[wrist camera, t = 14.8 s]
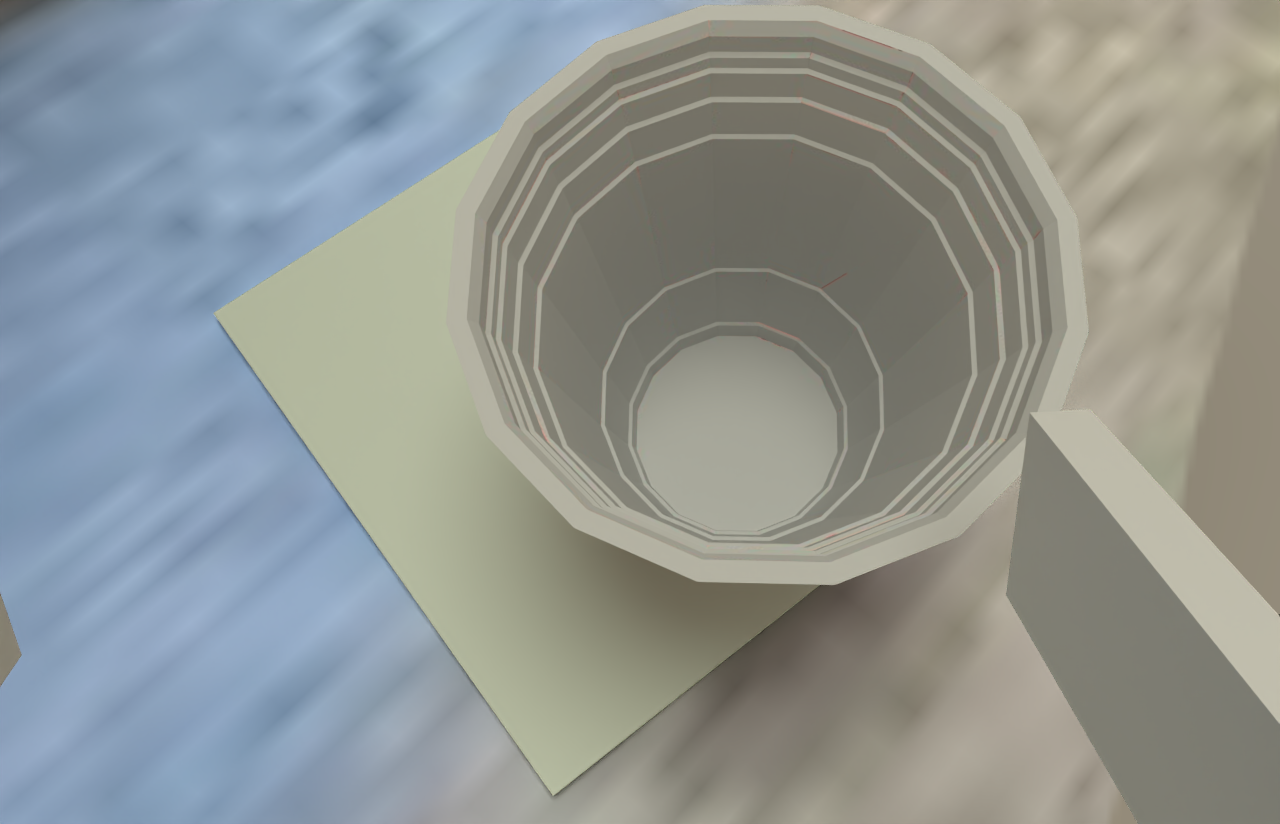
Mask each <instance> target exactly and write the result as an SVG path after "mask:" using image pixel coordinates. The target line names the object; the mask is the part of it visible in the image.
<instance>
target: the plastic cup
mask: <svg viewBox="0 0 1280 824" xmlns="http://www.w3.org/2000/svg"><path fill="white" fill-rule="evenodd" d="M446 324H447V327H448V330H449V333H450V335H451V338H452V341H453V344H454V347H455V349H456V352H457V355H458V358H459V361H460V364H461V366H462V369H463V372H464V375H465V378H466V380H467V383H468V386H469V389H470V392H471V395H472V397H473V400H474V403H475V406H476V409H477V411H478V414H479V417H480V420H481V423H482V425H483V428H484V431H485V434H486V436H487V437H488V438H489V439H490V440H491V441H492V442H493V443H494V444H495V445H496V446H497V447H498V448H499V450H500V451H501V452H502V453H503V454H504V455H505V456H506V457H507V458H508V459H509V460H510V461H511V462H512V463H513V464H514V465H515V466H516V467H517V469H518V470H519V471H520V472H521V473H522V474H523V475H524V476H525V477H526V478H527V479H528V480H529V481H530V482H531V483H532V484H533V485H534V486H535V487H536V489H537V490H538V491H539V492H540V493H541V494H542V495H543V496H544V497H545V498H546V499H547V500H548V501H549V502H550V503H551V504H552V505H553V506H554V507H555V509H556V510H557V511H558V512H559V513H560V514H561V515H562V516H563V517H564V518H565V519H566V520H567V521H568V522H569V523H570V524H571V525H572V526H573V528H575V529H578V530H580V531H582V532H584V533H587V534H589V535H591V536H594V537H596V538H598V539H600V540H603V541H605V542H607V543H610V544H612V545H614V546H616V547H619V548H621V549H623V550H626V551H628V552H630V553H632V554H635V555H637V556H639V557H642V558H644V559H646V560H649V561H651V562H653V563H655V564H658V565H660V566H662V567H665V568H667V569H669V570H671V571H674V572H676V573H678V574H681V575H683V576H685V577H687V578H690V579H692V580H694V581H697V582H724V583H768V584H812V585H836V584H839V583H841V582H844V581H846V580H849V579H852V578H854V577H857V576H859V575H862V574H864V573H867V572H869V571H872V570H874V569H877V568H880V567H882V566H885V565H887V564H890V563H892V562H895V561H897V560H900V559H903V558H905V557H908V556H910V555H913V554H915V553H918V552H920V551H923V550H925V549H928V548H931V547H933V546H936V545H938V544H941V543H943V542H946V541H948V540H951V539H954V538H956V537H959V536H960V535H961V534H962V533H963V532H964V531H965V530H966V529H967V528H968V527H969V526H970V525H971V524H972V523H973V522H974V521H975V520H976V519H977V518H978V517H979V516H980V515H981V514H982V513H983V512H984V511H985V510H986V509H987V508H988V507H989V506H990V505H991V504H992V503H993V502H994V501H995V500H996V499H997V498H998V497H999V496H1000V495H1001V494H1002V493H1003V492H1004V491H1005V490H1006V489H1007V488H1008V487H1009V486H1010V485H1011V484H1012V483H1013V482H1014V481H1015V480H1016V479H1017V478H1018V477H1019V476H1020V475H1021V474H1022V468H1023V460H1024V452H1025V445H1026V437H1027V429H1028V422H1029V414H1030V412H1048V411H1061V410H1062V407H1063V405H1064V402H1065V399H1066V396H1067V393H1068V390H1069V388H1070V385H1071V382H1072V379H1073V376H1074V373H1075V371H1076V368H1077V365H1078V362H1079V359H1080V356H1081V354H1082V351H1083V348H1084V345H1085V342H1086V339H1087V336H1088V334H1089V329H1088V319H1087V309H1086V299H1085V289H1084V280H1083V270H1082V260H1081V250H1080V240H1079V230H1078V221H1077V216H1076V214H1075V212H1074V211H1073V209H1072V207H1071V205H1070V204H1069V202H1068V200H1067V198H1066V197H1065V195H1064V193H1063V191H1062V189H1061V188H1060V186H1059V184H1058V182H1057V181H1056V179H1055V177H1054V175H1053V174H1052V172H1051V170H1050V168H1049V167H1048V165H1047V163H1046V161H1045V159H1044V158H1043V156H1042V154H1041V152H1040V151H1039V149H1038V147H1037V145H1036V144H1035V142H1034V140H1033V138H1032V136H1031V135H1030V133H1029V131H1028V129H1027V128H1026V126H1025V124H1024V122H1023V121H1022V119H1021V117H1020V116H1019V115H1018V114H1016V113H1015V112H1014V111H1013V110H1011V109H1010V108H1009V107H1008V106H1006V105H1005V104H1004V103H1003V102H1001V101H1000V100H999V99H998V98H996V97H995V96H994V95H993V94H992V93H990V92H989V91H988V90H987V89H985V88H984V87H983V86H982V85H980V84H979V83H978V82H977V81H975V80H974V79H973V78H972V77H970V76H969V75H968V74H967V73H966V72H964V71H963V70H962V69H961V68H959V67H958V66H957V65H956V64H954V63H953V62H952V61H951V60H949V59H948V58H947V57H946V56H945V55H943V54H942V53H941V52H940V51H938V50H937V49H936V48H935V47H933V46H932V45H931V44H929V43H926V42H923V41H920V40H918V39H915V38H912V37H909V36H906V35H903V34H900V33H897V32H895V31H892V30H889V29H886V28H883V27H880V26H877V25H874V24H872V23H869V22H866V21H863V20H860V19H857V18H854V17H851V16H849V15H846V14H843V13H840V12H837V11H834V10H831V9H828V8H826V7H823V6H800V5H703V6H700V7H697V8H694V9H691V10H688V11H685V12H682V13H679V14H677V15H674V16H671V17H668V18H665V19H662V20H659V21H656V22H653V23H650V24H647V25H644V26H641V27H638V28H635V29H633V30H630V31H627V32H624V33H621V34H618V35H615V36H612V37H609V38H606V39H603V40H600V41H597V42H596V43H594V44H593V45H592V46H591V47H589V48H588V49H587V50H586V51H584V52H583V53H582V54H581V55H580V56H578V57H577V58H576V59H575V60H573V61H572V62H571V63H570V64H568V65H567V66H566V67H565V68H564V69H562V70H561V71H560V72H559V73H557V74H556V75H555V76H554V77H552V78H551V79H550V80H549V81H548V82H546V83H545V84H544V85H543V86H541V87H540V88H539V89H538V90H536V91H535V92H534V93H533V94H532V95H530V96H529V97H528V98H527V99H525V100H524V101H523V102H522V103H520V104H519V105H518V106H517V107H516V108H514V109H513V110H512V111H511V112H509V114H508V116H507V118H506V120H505V121H504V123H503V125H502V127H501V129H500V131H499V132H498V134H497V136H496V138H495V140H494V142H493V143H492V145H491V147H490V149H489V151H488V152H487V154H486V156H485V158H484V160H483V162H482V163H481V165H480V167H479V169H478V171H477V172H476V174H475V176H474V178H473V180H472V182H471V183H470V185H469V187H468V189H467V191H466V192H465V194H464V196H463V198H462V200H461V202H460V203H459V205H458V207H457V209H456V214H455V226H454V237H453V249H452V260H451V272H450V283H449V295H448V306H447V318H446Z"/></svg>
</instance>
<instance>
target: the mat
mask: <svg viewBox="0 0 1280 824" xmlns="http://www.w3.org/2000/svg"><path fill="white" fill-rule="evenodd" d="M499 131H500V130H499ZM499 131H497V132H496V133H494V134H493V135H491V136H489V137H488V138H486V139H485V140H483V141H482V142H480V143H478V144H477V145H475V146H474V147H472V148H471V149H469V150H468V151H466V152H464V153H463V154H461V155H460V156H458V157H457V158H455V159H453V160H452V161H450V162H449V163H447V164H446V165H444V166H443V167H441V168H439V169H438V170H436V171H435V172H433V173H432V174H430V175H428V176H427V177H425V178H424V179H422V180H421V181H419V182H417V183H416V184H414V185H413V186H411V187H410V188H408V189H407V190H405V191H403V192H402V193H400V194H399V195H397V196H396V197H394V198H392V199H391V200H389V201H388V202H386V203H385V204H383V205H382V206H380V207H378V208H377V209H375V210H374V211H372V212H371V213H369V214H367V215H366V216H364V217H363V218H361V219H360V220H358V221H357V222H355V223H353V224H352V225H350V226H349V227H347V228H346V229H344V230H342V231H341V232H339V233H338V234H336V235H335V236H333V237H331V238H330V239H328V240H327V241H325V242H324V243H322V244H321V245H319V246H317V247H316V248H314V249H313V250H311V251H310V252H308V253H306V254H305V255H303V256H302V257H300V258H299V259H297V260H296V261H294V262H292V263H291V264H289V265H288V266H286V267H285V268H283V269H281V270H280V271H278V272H277V273H275V274H274V275H272V276H270V277H269V278H267V279H266V280H264V281H263V282H261V283H260V284H258V285H256V286H255V287H253V288H252V289H250V290H249V291H247V292H245V293H244V294H242V295H241V296H239V297H238V298H236V299H235V300H233V301H231V302H230V303H228V304H227V305H225V306H224V307H222V308H220V309H219V310H217V311H216V312H214V315H215V316H216V318H217V319H218V320H219V322H220V323H221V325H222V326H223V328H224V329H225V330H226V332H227V333H228V335H229V336H230V338H231V339H232V340H233V342H234V343H235V345H236V346H237V347H238V349H239V350H240V352H241V353H242V355H243V356H244V357H245V359H246V360H247V362H248V363H249V365H250V366H251V367H252V369H253V370H254V372H255V373H256V374H257V376H258V377H259V379H260V380H261V382H262V383H263V384H264V386H265V387H266V389H267V390H268V392H269V393H270V394H271V396H272V397H273V399H274V400H275V401H276V403H277V404H278V406H279V407H280V409H281V410H282V411H283V413H284V414H285V416H286V417H287V419H288V420H289V421H290V423H291V424H292V426H293V427H294V428H295V430H296V431H297V433H298V434H299V436H300V437H301V438H302V440H303V441H304V443H305V444H306V446H307V447H308V448H309V450H310V451H311V453H312V454H313V455H314V457H315V458H316V460H317V461H318V463H319V464H320V465H321V467H322V468H323V470H324V471H325V473H326V474H327V475H328V477H329V478H330V480H331V481H332V482H333V484H334V485H335V487H336V488H337V490H338V491H339V492H340V494H341V495H342V497H343V498H344V500H345V501H346V502H347V504H348V505H349V507H350V508H351V509H352V511H353V512H354V514H355V515H356V517H357V518H358V519H359V521H360V522H361V524H362V525H363V527H364V528H365V529H366V531H367V532H368V534H369V535H370V536H371V538H372V539H373V541H374V542H375V544H376V545H377V546H378V548H379V549H380V551H381V552H382V554H383V555H384V556H385V558H386V559H387V561H388V562H389V563H390V565H391V566H392V568H393V569H394V571H395V572H396V573H397V575H398V576H399V578H400V579H401V581H402V582H403V583H404V585H405V586H406V588H407V589H408V590H409V592H410V593H411V595H412V596H413V598H414V599H415V600H416V602H417V603H418V605H419V606H420V608H421V609H422V610H423V612H424V613H425V615H426V616H427V617H428V619H429V620H430V622H431V623H432V625H433V626H434V627H435V629H436V630H437V632H438V633H439V635H440V636H441V637H442V639H443V640H444V642H445V643H446V644H447V646H448V647H449V649H450V650H451V652H452V653H453V654H454V656H455V657H456V659H457V660H458V662H459V663H460V664H461V666H462V667H463V669H464V670H465V671H466V673H467V674H468V676H469V677H470V679H471V680H472V681H473V683H474V684H475V686H476V687H477V689H478V690H479V691H480V693H481V694H482V696H483V697H484V698H485V700H486V701H487V703H488V704H489V706H490V707H491V708H492V710H493V711H494V713H495V714H496V715H497V717H498V718H499V720H500V721H501V723H502V724H503V725H504V727H505V728H506V730H507V731H508V733H509V734H510V735H511V737H512V738H513V740H514V741H515V742H516V744H517V745H518V747H519V748H520V750H521V751H522V752H523V754H524V755H525V757H526V758H527V760H528V761H529V762H530V764H531V765H532V767H533V768H534V769H535V771H536V772H537V774H538V775H539V777H540V778H541V779H542V781H543V782H544V784H545V785H546V787H547V788H548V789H549V791H550V792H551V794H552V795H553V796H554V795H556V794H557V793H558V792H560V791H561V790H562V789H563V788H565V787H566V786H567V785H568V784H570V783H571V782H572V781H573V780H575V779H576V778H577V777H578V776H580V775H581V774H582V773H583V772H585V771H586V770H587V769H589V768H590V767H591V766H592V765H594V764H595V763H596V762H597V761H599V760H600V759H601V758H602V757H604V756H605V755H606V754H607V753H609V752H610V751H611V750H613V749H614V748H615V747H616V746H618V745H619V744H620V743H621V742H623V741H624V740H625V739H626V738H628V737H629V736H630V735H631V734H633V733H634V732H635V731H636V730H638V729H639V728H640V727H642V726H643V725H644V724H645V723H647V722H648V721H649V720H650V719H652V718H653V717H654V716H655V715H657V714H658V713H659V712H660V711H662V710H663V709H664V708H666V707H667V706H668V705H669V704H671V703H672V702H673V701H674V700H676V699H677V698H678V697H679V696H681V695H682V694H683V693H684V692H686V691H687V690H688V689H689V688H691V687H692V686H693V685H695V684H696V683H697V682H698V681H700V680H701V679H702V678H703V677H705V676H706V675H707V674H708V673H710V672H711V671H712V670H713V669H715V668H716V667H717V666H718V665H720V664H721V663H722V662H724V661H725V660H726V659H727V658H729V657H730V656H731V655H732V654H734V653H735V652H736V651H737V650H739V649H740V648H741V647H742V646H744V645H745V644H746V643H748V642H749V641H750V640H751V639H753V638H754V637H755V636H756V635H758V634H759V633H760V632H761V631H763V630H764V629H765V628H766V627H768V626H769V625H770V624H771V623H773V622H774V621H775V620H777V619H778V618H779V617H780V616H782V615H783V614H784V613H785V612H787V611H788V610H789V609H790V608H792V607H793V606H794V605H795V604H797V603H798V602H799V601H801V600H802V599H803V598H804V597H806V596H807V595H808V594H809V593H811V592H812V591H813V590H814V589H816V588H817V587H818V586H819V585H812V584H768V583H724V582H697V581H694V580H692V579H690V578H687V577H685V576H683V575H681V574H678V573H676V572H674V571H671V570H669V569H667V568H665V567H662V566H660V565H658V564H655V563H653V562H651V561H649V560H646V559H644V558H642V557H639V556H637V555H635V554H632V553H630V552H628V551H626V550H623V549H621V548H619V547H616V546H614V545H612V544H610V543H607V542H605V541H603V540H600V539H598V538H596V537H594V536H591V535H589V534H587V533H584V532H582V531H580V530H578V529H575V528H573V526H572V525H571V524H570V523H569V522H568V521H567V520H566V519H565V518H564V517H563V516H562V515H561V514H560V513H559V512H558V511H557V510H556V509H555V507H554V506H553V505H552V504H551V503H550V502H549V501H548V500H547V499H546V498H545V497H544V496H543V495H542V494H541V493H540V492H539V491H538V490H537V489H536V487H535V486H534V485H533V484H532V483H531V482H530V481H529V480H528V479H527V478H526V477H525V476H524V475H523V474H522V473H521V472H520V471H519V470H518V469H517V467H516V466H515V465H514V464H513V463H512V462H511V461H510V460H509V459H508V458H507V457H506V456H505V455H504V454H503V453H502V452H501V451H500V450H499V448H498V447H497V446H496V445H495V444H494V443H493V442H492V441H491V440H490V439H489V438H488V437H487V436H486V434H485V431H484V428H483V425H482V423H481V420H480V417H479V414H478V411H477V409H476V406H475V403H474V400H473V397H472V395H471V392H470V389H469V386H468V383H467V380H466V378H465V375H464V372H463V369H462V366H461V364H460V361H459V358H458V355H457V352H456V349H455V347H454V344H453V341H452V338H451V335H450V333H449V330H448V327H447V324H446V318H447V306H448V295H449V283H450V272H451V260H452V249H453V237H454V226H455V214H456V209H457V207H458V205H459V203H460V202H461V200H462V198H463V196H464V194H465V192H466V191H467V189H468V187H469V185H470V183H471V182H472V180H473V178H474V176H475V174H476V172H477V171H478V169H479V167H480V165H481V163H482V162H483V160H484V158H485V156H486V154H487V152H488V151H489V149H490V147H491V145H492V143H493V142H494V140H495V138H496V136H497V134H498V132H499Z"/></svg>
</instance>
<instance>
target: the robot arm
mask: <svg viewBox="0 0 1280 824" xmlns="http://www.w3.org/2000/svg"><path fill="white" fill-rule="evenodd" d="M1006 595H1007V597H1008V599H1009V601H1010V602H1011V604H1012V606H1013V608H1014V609H1015V611H1016V613H1017V615H1018V616H1019V618H1020V620H1021V621H1022V623H1023V625H1024V627H1025V628H1026V630H1027V632H1028V634H1029V635H1030V637H1031V639H1032V641H1033V642H1034V644H1035V646H1036V648H1037V649H1038V651H1039V653H1040V654H1041V656H1042V658H1043V660H1044V661H1045V663H1046V665H1047V667H1048V668H1049V670H1050V672H1051V674H1052V675H1053V677H1054V679H1055V680H1056V682H1057V684H1058V686H1059V687H1060V689H1061V691H1062V693H1063V694H1064V696H1065V698H1066V700H1067V701H1068V703H1069V705H1070V706H1071V708H1072V710H1073V712H1074V713H1075V715H1076V717H1077V719H1078V720H1079V722H1080V724H1081V726H1082V727H1083V729H1084V731H1085V732H1086V734H1087V736H1088V738H1089V739H1090V741H1091V743H1092V745H1093V746H1094V748H1095V750H1096V752H1097V753H1098V755H1099V757H1100V758H1101V760H1102V762H1103V764H1104V765H1105V767H1106V769H1107V771H1108V772H1109V774H1110V776H1111V778H1112V779H1113V781H1114V783H1115V785H1116V786H1117V788H1118V790H1119V791H1120V793H1121V795H1122V797H1123V798H1124V800H1125V802H1126V803H1127V805H1128V807H1129V809H1130V811H1131V812H1132V814H1133V816H1134V817H1135V819H1136V820H1137V823H1138V824H1280V614H1279V615H1278V614H1277V613H1276V612H1275V611H1274V610H1273V608H1271V606H1270V605H1269V604H1268V603H1267V602H1266V601H1265V600H1264V599H1263V598H1262V596H1261V595H1260V594H1259V593H1258V592H1257V591H1256V590H1255V589H1254V588H1253V587H1252V585H1251V584H1250V583H1249V582H1248V581H1247V580H1246V579H1245V578H1244V577H1243V576H1242V575H1241V573H1240V572H1239V571H1238V570H1237V569H1236V568H1235V567H1234V566H1233V565H1232V564H1231V562H1230V561H1229V560H1228V559H1227V558H1226V557H1225V556H1224V555H1223V554H1222V553H1221V551H1220V550H1219V549H1218V548H1217V547H1216V546H1215V545H1214V544H1213V543H1212V542H1211V541H1210V539H1209V538H1208V537H1207V536H1206V535H1205V534H1204V533H1203V532H1202V531H1201V530H1200V529H1199V527H1198V526H1197V525H1196V524H1195V523H1194V522H1193V521H1192V520H1191V519H1190V518H1189V517H1188V515H1187V514H1186V513H1185V512H1184V511H1183V510H1182V509H1181V508H1180V507H1179V506H1178V504H1177V503H1176V502H1175V501H1174V500H1173V499H1172V498H1171V497H1170V496H1169V495H1168V494H1167V492H1166V491H1165V490H1164V489H1163V488H1162V487H1161V486H1160V485H1159V484H1158V483H1157V482H1156V480H1155V479H1154V478H1153V477H1152V476H1151V475H1150V474H1149V473H1148V472H1147V471H1146V469H1145V468H1144V467H1143V466H1142V465H1141V464H1140V463H1139V462H1138V461H1137V460H1136V459H1135V457H1134V456H1133V455H1132V454H1131V453H1130V452H1129V451H1128V450H1127V449H1126V448H1125V447H1124V445H1123V444H1122V443H1121V442H1120V441H1119V440H1118V439H1117V438H1116V437H1115V436H1114V435H1113V433H1112V432H1111V431H1110V430H1109V429H1108V428H1107V427H1106V426H1105V425H1104V424H1103V422H1102V421H1101V420H1100V419H1099V418H1098V417H1097V416H1096V415H1095V414H1094V413H1093V412H1092V410H1091V409H1084V410H1066V411H1048V412H1030V414H1029V422H1028V429H1027V437H1026V445H1025V452H1024V460H1023V468H1022V476H1021V483H1020V491H1019V499H1018V506H1017V514H1016V522H1015V530H1014V537H1013V545H1012V553H1011V561H1010V568H1009V576H1008V584H1007V591H1006ZM20 657H21V652H20V649H19V646H18V643H17V640H16V637H15V634H14V632H13V629H12V626H11V623H10V620H9V617H8V614H7V611H6V608H5V606H4V603H3V600H2V597H1V594H0V686H1V685H2V683H3V682H4V680H5V679H6V677H7V676H8V674H9V673H10V671H11V670H12V668H13V667H14V666H15V664H16V663H17V661H18V660H19V658H20Z"/></svg>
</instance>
